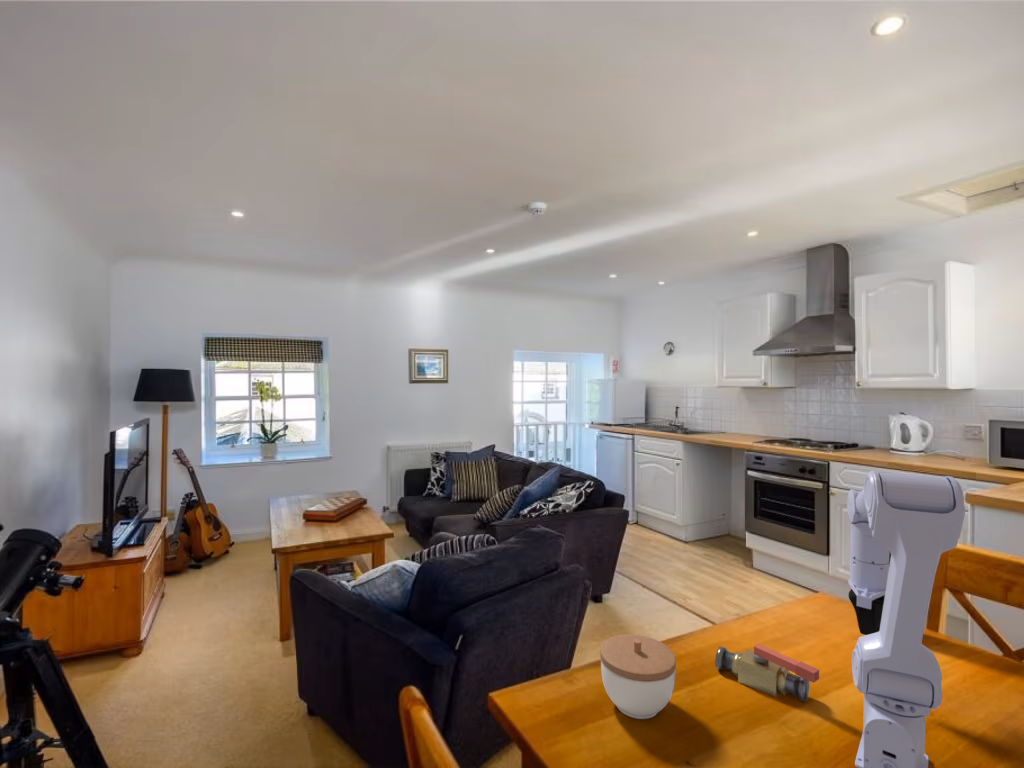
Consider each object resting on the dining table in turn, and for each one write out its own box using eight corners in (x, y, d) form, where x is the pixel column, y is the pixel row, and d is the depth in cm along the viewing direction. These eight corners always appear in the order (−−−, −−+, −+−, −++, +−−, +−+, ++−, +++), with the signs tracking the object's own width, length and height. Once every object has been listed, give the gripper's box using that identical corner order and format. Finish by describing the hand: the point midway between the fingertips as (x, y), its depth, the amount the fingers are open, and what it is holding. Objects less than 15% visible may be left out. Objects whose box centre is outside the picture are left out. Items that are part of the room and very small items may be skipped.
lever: (750, 658, 93) (750, 645, 93) (757, 653, 95) (757, 641, 94) (812, 687, 84) (813, 674, 84) (819, 682, 86) (820, 668, 86)
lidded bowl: (644, 676, 95) (644, 618, 94) (691, 719, 83) (692, 652, 83) (585, 692, 90) (586, 630, 90) (628, 739, 78) (628, 669, 78)
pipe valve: (809, 695, 90) (810, 671, 90) (803, 708, 86) (804, 683, 86) (723, 662, 100) (723, 641, 99) (714, 673, 96) (714, 650, 96)
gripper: (894, 577, 82) (892, 659, 82) (900, 553, 93) (898, 626, 93) (842, 566, 87) (841, 644, 87) (854, 544, 98) (852, 614, 98)
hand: (867, 634), depth 90 cm, fingers closed
